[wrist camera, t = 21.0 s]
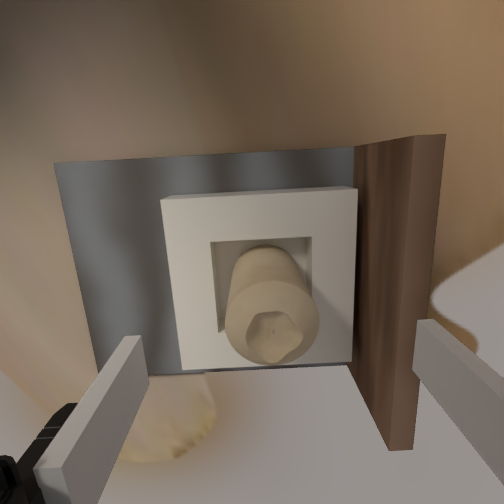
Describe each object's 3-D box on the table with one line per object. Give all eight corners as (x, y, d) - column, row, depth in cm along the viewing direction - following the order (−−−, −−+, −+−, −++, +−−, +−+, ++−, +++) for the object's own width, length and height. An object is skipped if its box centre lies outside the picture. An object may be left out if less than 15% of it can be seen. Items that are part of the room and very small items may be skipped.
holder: (190, 346, 29) (182, 370, 26) (172, 195, 25) (160, 199, 22) (339, 338, 29) (351, 361, 26) (343, 186, 25) (358, 189, 22)
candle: (301, 245, 26) (332, 293, 16) (294, 306, 27) (319, 384, 17) (234, 241, 26) (224, 287, 16) (231, 303, 27) (220, 379, 17)
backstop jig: (102, 373, 31) (35, 467, 21) (57, 163, 26) (-59, 162, 16) (361, 360, 31) (412, 449, 21) (371, 146, 25) (446, 133, 16)
